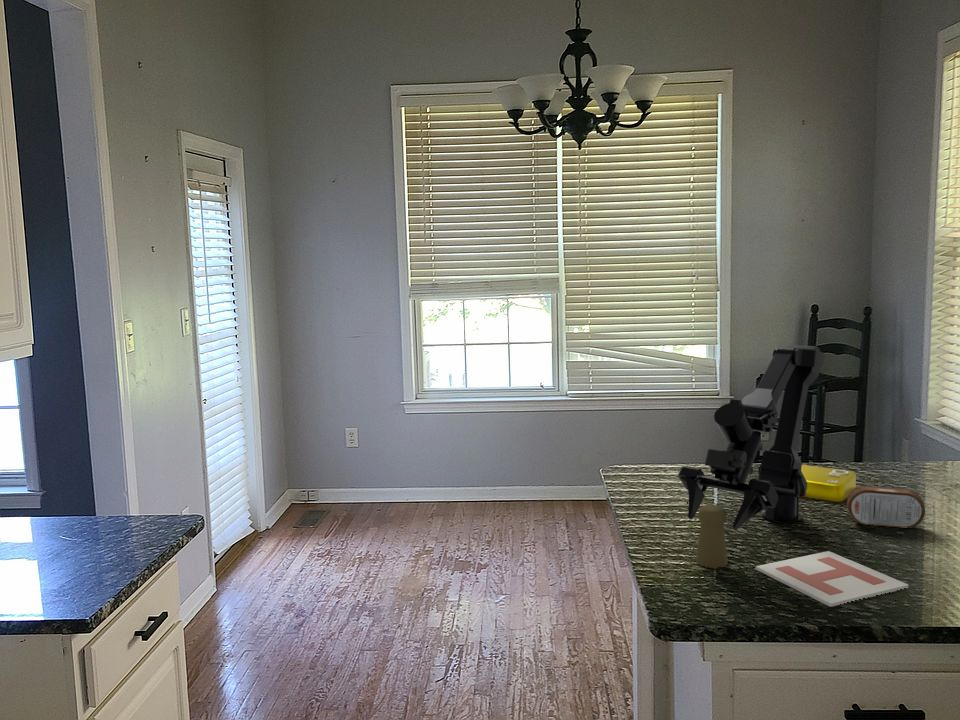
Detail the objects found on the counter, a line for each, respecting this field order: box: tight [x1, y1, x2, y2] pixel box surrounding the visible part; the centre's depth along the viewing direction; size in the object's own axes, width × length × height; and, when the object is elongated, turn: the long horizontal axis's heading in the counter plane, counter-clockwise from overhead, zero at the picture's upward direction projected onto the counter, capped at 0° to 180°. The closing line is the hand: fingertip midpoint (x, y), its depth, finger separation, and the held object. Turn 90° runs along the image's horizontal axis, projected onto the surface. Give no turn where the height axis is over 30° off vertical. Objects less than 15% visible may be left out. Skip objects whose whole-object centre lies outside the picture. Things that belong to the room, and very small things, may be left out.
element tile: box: [801, 464, 857, 502], centre depth 202 cm, size 15×15×5 cm
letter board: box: [755, 550, 909, 608], centre depth 149 cm, size 18×18×1 cm
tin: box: [846, 485, 926, 529], centre depth 175 cm, size 15×3×8 cm, turn 71°
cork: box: [694, 504, 729, 569], centre depth 157 cm, size 6×6×11 cm
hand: (711, 523), depth 157 cm, fingers open, 9 cm apart
